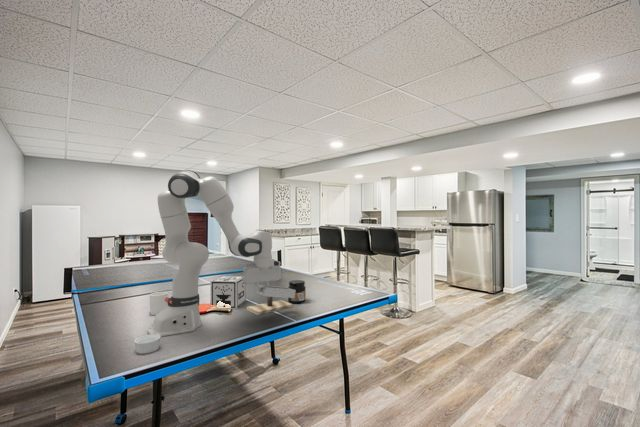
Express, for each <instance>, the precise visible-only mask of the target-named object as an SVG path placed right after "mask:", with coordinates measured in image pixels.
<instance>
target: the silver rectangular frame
mask: <svg viewBox="0 0 640 427" xmlns="http://www.w3.org/2000/svg"><path fill="white" fill-rule="evenodd" d="M264 286H265V284H264V285H262V284H260V285H259V287H260V288H262V289H261V292H257V287H256V286H255V294H256V295H260V296H262V297H267V296H268V297H272V298H287V299H288V298H295V292H296V290H294V289H290V288H288V287H287V286H277V285H276V286H275V285H268V287H264Z"/></svg>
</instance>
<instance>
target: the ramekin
mask: <svg viewBox="0 0 640 427" xmlns="http://www.w3.org/2000/svg"><path fill="white" fill-rule="evenodd" d="M161 338H162V337H161V336H160V335H158V334H150V335H149V334H146V335H142V336H139V337H137V338H135V339H134V340H133V341H134V346H135V347H134V348H135V352H136V354H140V355H141V354H142V355H143V354H144V355H145V354H149V353H153V352H155V351H157V350H158V349H159V348H160V345H161Z"/></svg>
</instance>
